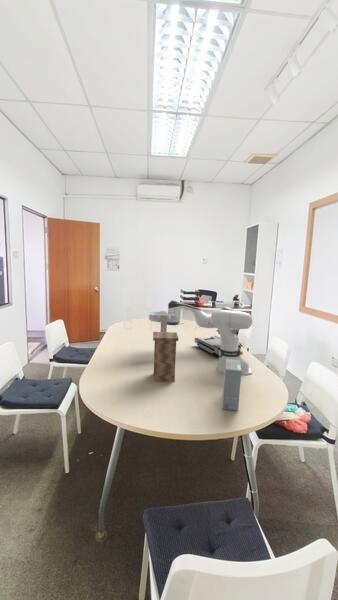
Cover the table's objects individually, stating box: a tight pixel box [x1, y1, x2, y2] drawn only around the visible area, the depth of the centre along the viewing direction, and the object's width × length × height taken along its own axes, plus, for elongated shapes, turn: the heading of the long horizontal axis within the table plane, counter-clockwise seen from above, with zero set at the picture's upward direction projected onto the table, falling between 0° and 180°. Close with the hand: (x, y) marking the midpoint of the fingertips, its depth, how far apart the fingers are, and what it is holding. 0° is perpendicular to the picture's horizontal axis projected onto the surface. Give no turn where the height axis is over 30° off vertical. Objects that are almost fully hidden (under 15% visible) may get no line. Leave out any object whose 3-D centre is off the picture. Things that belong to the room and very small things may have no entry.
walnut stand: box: [152, 331, 179, 383], centre depth 164 cm, size 14×13×26 cm
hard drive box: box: [221, 359, 242, 412], centre depth 139 cm, size 16×8×20 cm, turn 168°
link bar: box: [159, 314, 168, 332], centre depth 192 cm, size 6×22×4 cm
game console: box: [194, 335, 242, 359], centre depth 220 cm, size 21×32×8 cm, turn 26°
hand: (164, 317), depth 189 cm, fingers closed on link bar, 4 cm apart
